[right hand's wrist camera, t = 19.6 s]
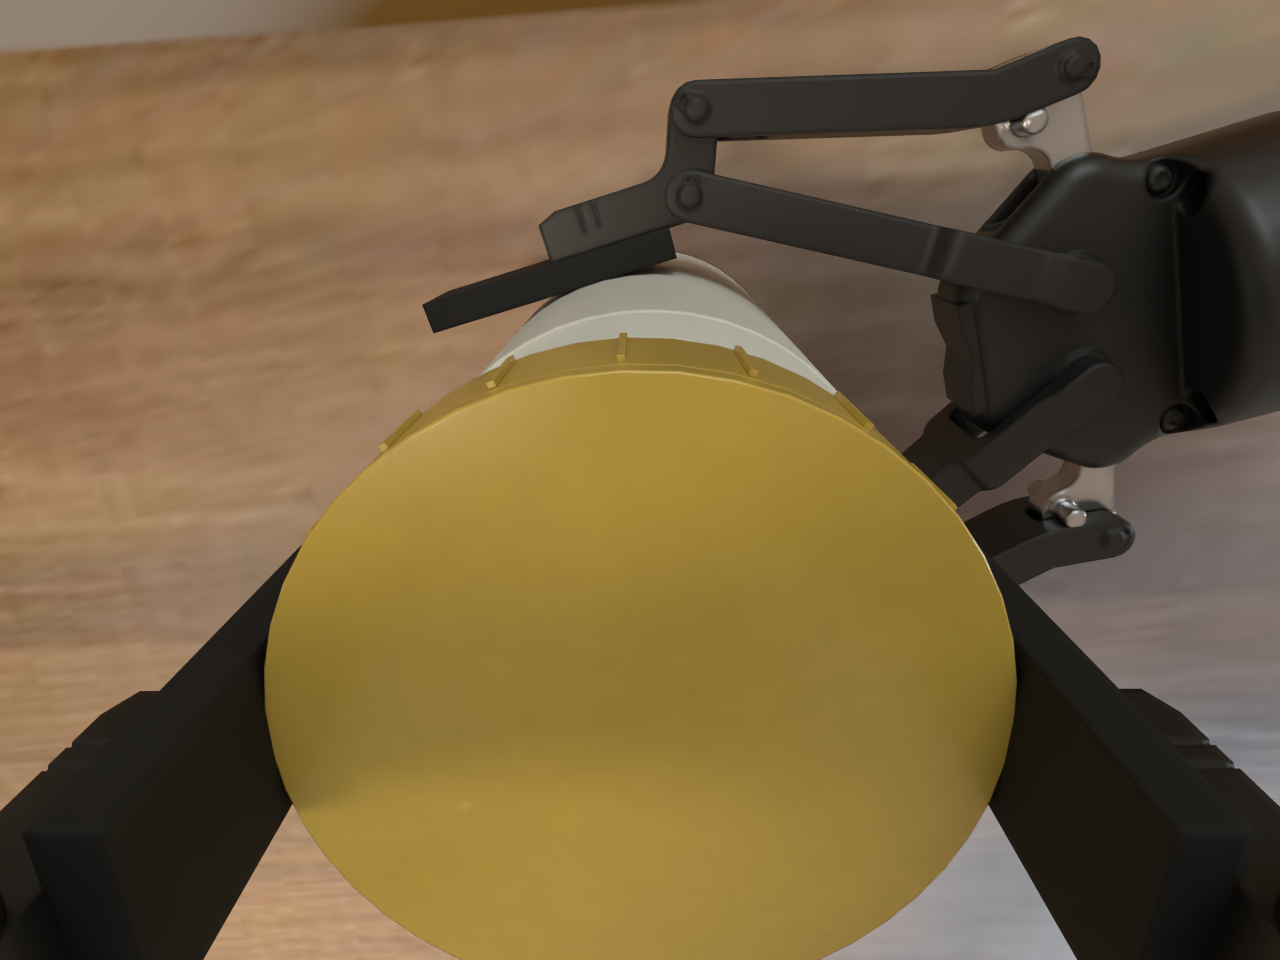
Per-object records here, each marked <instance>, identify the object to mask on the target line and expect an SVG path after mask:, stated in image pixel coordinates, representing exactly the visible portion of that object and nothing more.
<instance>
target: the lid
mask: <svg viewBox="0 0 1280 960" xmlns="http://www.w3.org/2000/svg"><path fill="white" fill-rule="evenodd" d="M874 426H875V425H874V424H873V423H872V422H871V421H870V420H869V419H868V418H867V417H865V416H864V415H863V414H862V413H861V412H860V411H859V410H858V409H857V408H856V407H855V406H854V405H853V404H852V403H851V402H850V401H849V400H848V399H847V398H846V397H845V396H844V395H843V394H841V393H840V392H838V391H837V392H836V393H835V394H834V395H832V394H831V393H829V392H828V391H826V390H824V389H823V388H821V387H819V386H818V385H816V384H815V383H813V382H811V381H810V380H808V379H807V378H805V377H803V376H801V375H798V374H796V373H794V372H792V371H790V370H787V369H785V368H783V367H781V366H778V365H776V364H774V363H772V362H769V361H767V360H765V359H762V358H759V357H756V356H752V355H749V354H747V353H746V352H745V350H744V349H743V347H741V346H738V345H735V347H734V350H732V349H728V348H725V347H721V346H718V345H711V344H705V343H698V342H692V341H685V340H679V339H672V338H628V337H627V333H620V335H619V338H614V339H605V340H596V341H587V342H578V343H573V344H569V345H565V346H561V347H557V348H553V349H549V350H545V351H541V352H537V353H533V354H530V355H527V356H525V357H522V358H520V359H517V360H516V358H515V356H514V355H512V356H509V357H507V358H506V360H505V361H504V362H503V363H502V364H501V366H500V367H497V368H495V369H492V370H490V371H488V372H486V373H484V374H482V375H480V376H479V377H477V378H475V379H473V380H472V381H470V382H468V383H466V384H465V385H463V386H461V387H459V388H457V389H456V390H454V391H452V392H450V393H449V394H448V395H446V396H445V397H444V398H442V399H441V400H440V401H438V402H437V403H436V404H435V405H433V406H432V407H431V408H429V409H428V410H427V411H425V412H424V413H423V414H422V413H421V411H420V410H417V411H416V412H415V413H413V414H412V415H411V416H410V417H409V418H408V419H407V420H406V421H405V422H404V423H403V424H402V425H401V426H400V427H399V428H398V429H397V430H395V431H394V432H393V433H392V434H391V435H390V436H389V437H388V438H387V439H386V440H385V441H384V442H383V443H382V444H381V445H380V446H379V447H378V448H379V449H380V450H381V451H382V452H381V453H380V454H379V455H378V456H377V457H376V458H375V459H374V460H373V461H372V462H371V463H370V464H369V465H368V466H367V467H366V468H365V469H364V470H363V471H362V472H361V473H360V474H359V475H358V476H357V477H356V478H355V479H354V480H353V482H352V483H351V484H350V485H349V486H348V487H347V488H346V489H345V490H344V491H343V492H342V493H341V494H340V495H339V496H338V497H337V498H336V499H335V500H334V501H333V502H332V503H331V504H330V506H329V507H328V509H327V510H326V511H325V513H324V514H323V516H322V517H321V518H320V519H319V520H318V521H317V522H316V523H315V524H314V525H313V526H312V527H311V528H310V529H309V531H308V533H307V535H306V536H308V537H307V538H306V540H305V541H304V542H303V544H302V546H301V548H300V550H299V552H298V554H297V556H296V558H295V560H294V562H293V564H292V566H291V568H290V570H289V573H288V575H287V577H286V579H285V581H284V583H283V585H282V588H281V592H280V595H279V598H278V601H277V605H276V608H275V611H274V614H273V618H272V621H271V624H270V629H269V637H268V644H267V651H266V658H265V665H264V687H265V711H266V716H267V721H268V726H269V731H270V736H271V741H272V746H273V751H274V756H275V760H276V763H277V766H278V769H279V772H280V775H281V778H282V781H283V784H284V786H285V789H286V791H287V793H288V795H289V797H290V799H291V801H292V803H293V805H294V807H295V809H296V811H297V813H298V815H299V817H300V819H301V821H302V822H303V824H304V826H305V827H306V829H307V830H308V832H309V833H310V835H311V836H312V837H313V839H314V840H315V842H316V843H317V845H318V846H319V847H320V849H321V850H322V852H323V853H324V855H325V856H326V858H327V859H328V860H329V861H330V862H331V863H332V864H333V865H334V866H335V867H336V869H337V870H338V871H339V872H340V873H341V874H342V875H343V876H344V877H345V879H346V880H347V881H348V882H349V883H350V884H351V885H352V886H353V887H354V888H355V889H356V890H357V891H358V892H359V893H361V894H362V895H363V896H364V897H365V898H366V899H367V900H369V901H370V902H371V903H372V904H373V905H374V906H376V907H377V908H378V909H379V910H380V911H381V912H382V913H384V914H385V915H386V916H388V917H389V918H391V919H392V920H394V921H395V922H396V923H398V924H399V925H401V926H402V927H404V928H405V929H407V930H408V931H410V932H411V933H412V934H414V935H415V936H417V937H418V938H420V939H422V940H424V941H426V942H428V943H430V944H431V945H433V946H435V947H437V948H439V949H441V950H443V951H444V952H446V953H448V954H450V955H452V956H454V957H456V958H458V959H461V960H820V959H822V958H824V957H826V956H828V955H830V954H832V953H834V952H836V951H838V950H840V949H842V948H844V947H846V946H848V945H850V944H852V943H854V942H855V941H857V940H858V939H860V938H862V937H863V936H865V935H866V934H868V933H869V932H871V931H873V930H874V929H876V928H877V927H879V926H880V925H882V924H883V923H885V922H887V921H888V920H889V919H890V918H892V917H893V916H894V915H895V914H896V913H898V912H899V911H900V910H901V909H903V908H904V907H905V906H906V905H908V904H909V903H910V902H911V901H913V900H914V899H915V898H916V897H918V896H919V895H920V894H921V893H922V892H923V890H924V889H925V888H926V887H927V886H928V885H929V884H930V883H931V882H932V881H933V880H934V879H935V878H936V877H937V876H938V875H939V874H940V873H941V872H942V871H943V870H944V869H945V868H946V867H947V866H948V864H949V863H950V862H951V860H952V859H953V858H954V856H955V855H956V854H957V852H958V851H959V850H960V848H961V847H962V846H963V844H964V843H965V842H966V840H967V839H968V838H969V837H970V835H971V833H972V832H973V830H974V828H975V826H976V825H977V823H978V821H979V819H980V818H981V816H982V814H983V812H984V811H985V809H986V807H987V805H988V803H989V802H990V800H991V797H992V795H993V792H994V790H995V787H996V784H997V782H998V779H999V777H1000V774H1001V772H1002V769H1003V767H1004V763H1005V759H1006V754H1007V749H1008V744H1009V740H1010V735H1011V730H1012V725H1013V720H1014V714H1015V704H1016V690H1017V676H1016V664H1015V653H1014V642H1013V636H1012V632H1011V628H1010V624H1009V620H1008V616H1007V612H1006V608H1005V604H1004V600H1003V597H1002V594H1001V592H1000V590H999V587H998V585H997V583H996V580H995V578H994V576H993V574H992V571H991V569H990V567H989V564H988V562H987V560H986V558H985V555H984V554H983V552H982V551H981V549H980V547H979V546H978V544H977V543H976V541H975V540H974V538H973V536H972V535H971V533H970V532H969V530H968V529H967V527H966V526H965V524H964V522H963V521H962V519H961V518H960V516H959V515H958V514H957V513H956V511H955V510H957V509H958V508H957V506H956V505H955V503H954V502H953V501H952V500H951V499H950V498H949V497H948V496H947V495H946V494H945V493H943V492H942V491H941V490H940V489H939V488H938V487H937V486H936V485H935V484H934V483H933V482H932V481H931V480H930V479H929V478H928V477H927V476H926V475H925V474H924V473H923V472H922V471H921V470H920V469H919V468H918V467H917V466H916V465H915V464H914V463H910V462H909V461H908V460H907V459H906V458H905V457H904V456H903V455H902V454H901V453H900V452H899V451H898V450H897V449H896V448H895V447H894V446H893V445H892V444H891V443H890V442H889V441H888V440H887V439H886V438H885V437H884V436H882V435H881V434H880V433H879V432H878V431H877V430H876V429H875V428H874Z"/></svg>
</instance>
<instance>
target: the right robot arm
mask: <svg viewBox="0 0 1280 960" xmlns="http://www.w3.org/2000/svg"><path fill="white" fill-rule="evenodd" d="M976 543H977V542H976ZM977 544H978V543H977ZM301 546H302V545H301ZM301 546H300V547H299V548H298V549H297V550H296V551H295V552H294V553H293V554H292V555H291V556H290V557H289V558H288V559H287V560H286V561H285V563H284V564H283V565H282V566H281V567H280V568H279V569H278V570H277V571H276V572H275V573H274V574H273V575H272V576H271V577H270V578H269V579H268V580H267V581H266V582H265V583H264V584H263V585H262V586H261V587H260V588H259V589H258V590H257V591H256V592H255V593H254V594H253V595H252V596H251V597H250V598H249V600H248V601H247V602H246V603H245V604H244V605H243V606H242V607H241V608H240V609H239V610H238V611H237V612H236V613H235V614H234V615H233V616H232V617H231V618H230V619H229V620H228V621H227V622H226V623H225V624H224V625H223V626H222V627H221V628H220V629H219V630H218V631H217V632H216V633H215V634H214V635H213V637H212V638H211V639H210V640H209V641H208V642H207V643H206V644H205V645H204V646H203V647H202V648H201V649H200V650H199V651H198V652H197V653H196V654H195V655H194V656H193V657H192V658H191V659H190V660H189V661H188V662H187V663H186V664H185V665H184V666H183V667H182V668H181V669H180V670H179V671H178V672H177V674H176V675H175V676H174V677H173V678H172V679H171V680H170V681H169V682H168V683H167V684H166V685H165V686H164V687H163V688H162V689H161V690H160V691H140V692H138V693H136V694H135V695H133V696H131V697H130V698H128V699H126V700H125V701H123V702H121V703H120V704H118V705H116V706H114V707H113V708H111V709H109V710H108V711H106V712H104V713H103V714H101V715H100V716H99V717H98V718H97V719H96V720H95V721H94V722H93V723H92V724H91V725H90V726H89V727H88V728H86V729H85V730H84V731H83V732H82V733H81V734H80V735H79V736H78V737H77V738H76V739H75V740H74V741H73V742H72V747H71V748H66V749H65V750H64V751H63V752H61V753H60V754H59V755H58V756H57V757H56V758H55V759H54V760H53V761H52V762H51V763H50V764H49V765H48V770H47V771H42V772H41V773H40V774H39V775H38V776H36V777H35V778H34V779H33V780H32V781H31V782H30V783H29V784H28V785H27V786H26V787H25V788H24V789H23V790H22V791H21V792H20V793H19V794H18V795H17V796H16V797H15V798H14V799H13V800H11V801H10V802H9V803H8V804H7V805H6V806H5V807H4V808H3V809H2V810H1V811H0V960H203V959H204V957H205V956H206V954H207V952H208V950H209V949H210V947H211V945H212V944H213V942H214V940H215V938H216V937H217V935H218V933H219V931H220V930H221V928H222V926H223V924H224V923H225V921H226V919H227V917H228V916H229V914H230V912H231V910H232V909H233V907H234V905H235V903H236V902H237V900H238V898H239V896H240V895H241V893H242V891H243V889H244V888H245V886H246V884H247V882H248V881H249V879H250V877H251V875H252V874H253V872H254V870H255V868H256V867H257V865H258V863H259V861H260V860H261V858H262V856H263V854H264V853H265V851H266V849H267V847H268V846H269V844H270V842H271V840H272V839H273V837H274V835H275V833H276V832H277V830H278V828H279V826H280V825H281V823H282V821H283V820H284V818H285V816H286V814H287V813H288V811H289V809H290V807H291V806H292V804H293V803H292V801H291V799H290V797H289V795H288V793H287V791H286V789H285V786H284V784H283V781H282V778H281V775H280V772H279V769H278V766H277V763H276V760H275V756H274V751H273V746H272V741H271V736H270V731H269V726H268V721H267V716H266V711H265V687H264V665H265V658H266V651H267V644H268V637H269V629H270V624H271V621H272V618H273V614H274V611H275V608H276V605H277V601H278V598H279V595H280V592H281V588H282V585H283V583H284V581H285V579H286V577H287V575H288V573H289V570H290V568H291V566H292V564H293V562H294V560H295V558H296V556H297V554H298V552H299V550H300V548H301ZM978 546H979V545H978ZM979 547H980V546H979ZM980 549H981V551H982V552H983V554H984V555H985V558H986V560H987V562H988V564H989V567H990V569H991V571H992V574H993V576H994V578H995V580H996V583H997V585H998V587H999V590H1000V592H1001V594H1002V597H1003V600H1004V604H1005V608H1006V612H1007V616H1008V620H1009V624H1010V628H1011V632H1012V636H1013V642H1014V653H1015V664H1016V676H1017V690H1016V704H1015V714H1014V720H1013V725H1012V730H1011V735H1010V740H1009V744H1008V749H1007V754H1006V759H1005V763H1004V767H1003V769H1002V772H1001V774H1000V777H999V779H998V782H997V784H996V787H995V790H994V792H993V795H992V797H991V800H990V802H989V803H988V805H989V806H990V808H991V810H992V812H993V813H994V815H995V817H996V819H997V820H998V822H999V824H1000V826H1001V827H1002V829H1003V831H1004V833H1005V834H1006V836H1007V838H1008V840H1009V841H1010V843H1011V845H1012V847H1013V848H1014V850H1015V852H1016V854H1017V855H1018V857H1019V859H1020V861H1021V862H1022V864H1023V866H1024V868H1025V869H1026V871H1027V873H1028V875H1029V876H1030V878H1031V880H1032V882H1033V883H1034V885H1035V887H1036V889H1037V890H1038V892H1039V894H1040V896H1041V897H1042V899H1043V901H1044V902H1045V904H1046V906H1047V908H1048V909H1049V911H1050V913H1051V915H1052V916H1053V918H1054V920H1055V922H1056V923H1057V925H1058V927H1059V929H1060V930H1061V932H1062V934H1063V936H1064V937H1065V939H1066V941H1067V943H1068V944H1069V946H1070V948H1071V950H1072V951H1073V953H1074V955H1075V957H1076V958H1077V960H1280V807H1279V806H1278V805H1277V804H1276V803H1275V802H1274V801H1273V800H1272V799H1271V798H1270V797H1269V796H1268V795H1267V794H1266V793H1265V792H1264V791H1263V790H1262V789H1261V788H1259V787H1258V786H1257V785H1256V784H1255V783H1254V782H1253V781H1252V780H1251V779H1250V778H1249V777H1248V776H1247V775H1246V774H1245V773H1244V772H1243V771H1242V770H1241V769H1235V768H1234V766H1233V762H1232V761H1231V760H1230V759H1229V758H1228V757H1227V756H1226V755H1225V754H1224V753H1223V752H1222V751H1221V750H1220V749H1219V748H1218V747H1216V746H1215V745H1210V743H1209V739H1208V738H1207V737H1206V736H1205V735H1204V734H1203V733H1202V732H1201V731H1200V730H1199V729H1198V728H1197V727H1196V726H1194V725H1193V724H1192V723H1191V722H1190V721H1189V720H1188V719H1187V718H1186V717H1185V716H1184V715H1183V714H1182V713H1181V712H1179V711H1178V710H1176V709H1174V708H1173V707H1171V706H1169V705H1168V704H1166V703H1164V702H1163V701H1161V700H1159V699H1158V698H1156V697H1154V696H1152V695H1151V694H1149V693H1147V692H1146V691H1144V690H1142V689H1119V688H1118V687H1117V686H1116V685H1115V684H1114V683H1113V682H1112V681H1111V680H1110V679H1109V678H1108V677H1107V676H1106V675H1105V674H1104V673H1103V672H1102V671H1101V670H1100V669H1099V668H1098V667H1097V666H1096V665H1095V664H1094V663H1093V662H1092V661H1091V660H1090V659H1089V658H1088V657H1087V656H1086V654H1085V653H1084V652H1083V651H1082V650H1081V649H1080V648H1079V647H1078V646H1077V645H1076V644H1075V643H1074V642H1073V641H1072V640H1071V639H1070V638H1069V637H1068V636H1067V635H1066V634H1065V633H1064V632H1063V631H1062V630H1061V629H1060V628H1059V627H1058V626H1057V625H1056V624H1055V623H1054V622H1053V621H1052V620H1051V619H1050V617H1049V616H1048V615H1047V614H1046V613H1045V612H1044V611H1043V610H1042V609H1041V608H1040V607H1039V606H1038V605H1037V604H1036V603H1035V602H1034V601H1033V600H1032V599H1031V598H1030V597H1029V596H1028V595H1027V594H1026V593H1025V592H1024V591H1023V590H1022V589H1021V588H1020V587H1019V586H1018V585H1017V584H1016V583H1015V582H1014V580H1013V579H1012V578H1011V577H1010V576H1009V575H1008V574H1007V573H1006V572H1005V571H1004V570H1003V569H1002V568H1001V567H1000V566H999V565H998V564H997V563H996V562H995V561H994V560H993V559H992V558H991V557H990V556H989V555H988V554H987V553H986V552H985V551H984V550H983V549H982V548H981V547H980Z"/></svg>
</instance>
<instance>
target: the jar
mask: <svg viewBox="0 0 1280 960" xmlns="http://www.w3.org/2000/svg"><path fill="white" fill-rule="evenodd" d="M676 256H677V258H676V259H673V260H670V261H666V262H663V263H660V264H657V265H653V266H650V267H647V268H644V269H640V270H637V271H634V272H631V273H628V274H624V275H621V276H618V277H615V278H611V279H608V280H605V281H602V282H598V283H595V284H592V285H589V286H585V287H582V288H579V289H576V290H572V291H569V292H566V293H563V294H559V295H556V296H553V297H550V298H547V299H546V300H545V302H544V303H543V304H542V305H541V306H540V307H539V308H538V310H537V311H536V312H535V313H534V314H533V315H532V316H531V317H530V319H529V320H528V321H527V322H526V323H525V324H524V325H523V326H522V328H521V329H520V330H519V331H518V332H517V333H516V334H515V335H514V337H513V338H512V339H511V340H510V341H509V342H508V343H507V344H506V346H505V347H504V348H503V349H502V350H501V351H500V352H499V353H498V355H497V356H496V357H495V358H494V359H493V360H492V361H491V363H490V364H489V365H488V366H487V367H486V368H485V369H484V370H483V372H482V373H481V374H480V375H482V374H484V373H486V372H488V371H490V370H492V369H495V368H497V367H500V366H501V364H502V363H503V362H504V361H505V360H506V358H507V357H509V356H512V355H514V356H515V358H516V360H517V359H520V358H522V357H525V356H527V355H530V354H533V353H537V352H541V351H545V350H549V349H553V348H557V347H561V346H565V345H569V344H573V343H578V342H587V341H596V340H605V339H614V338H619V335H620V333H627V337H628V338H672V339H679V340H685V341H692V342H698V343H705V344H711V345H718V346H721V347H725V348H728V349H732V350H734V347H735V345H738V346H741V347H743V349H744V350H745V352H746V353H747V354H749V355H752V356H756V357H759V358H762V359H765V360H767V361H769V362H772V363H774V364H776V365H778V366H781V367H783V368H785V369H787V370H790V371H792V372H794V373H796V374H798V375H801V376H803V377H805V378H807V379H808V380H810V381H811V382H813V383H815V384H816V385H818V386H819V387H821V388H823V389H824V390H826V391H828V392H829V393H831V394H832V395H834V394H835V393H836V392H837V391H836V390H835V388H834V387H833V386H832V385H831V384H830V383H829V382H828V381H827V380H826V379H825V377H824V376H823V375H822V374H821V373H820V372H819V371H818V370H817V369H816V368H815V367H814V365H813V364H812V363H811V362H810V361H809V360H808V359H807V358H806V357H805V356H804V355H803V354H802V352H801V351H800V350H799V349H798V348H797V347H796V346H795V345H794V344H793V343H792V342H791V340H790V339H789V338H788V337H787V336H786V335H785V334H784V333H783V332H782V331H781V330H780V328H779V327H778V326H777V325H776V324H775V323H774V322H773V321H772V320H771V319H770V318H769V317H768V315H767V314H766V313H765V312H764V311H763V310H762V309H761V308H760V307H759V306H758V305H757V303H756V302H755V301H754V300H753V299H752V298H751V297H750V296H749V295H748V294H747V293H746V292H745V291H744V290H743V289H742V288H741V287H740V286H739V285H738V284H737V283H736V282H735V281H734V280H733V279H732V278H730V277H729V276H727V275H726V274H725V273H723V272H722V271H721V270H719V269H717V268H715V267H714V266H712V265H710V264H708V263H706V262H704V261H702V260H699V259H697V258H694V257H691V256H689V255H685V254H681V253H676ZM480 375H479V376H480ZM479 376H478V377H479Z"/></svg>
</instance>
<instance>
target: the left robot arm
mask: <svg viewBox="0 0 1280 960" xmlns="http://www.w3.org/2000/svg"><path fill="white" fill-rule="evenodd" d="M1100 57H1101V55H1100V53H1099V50H1098V48H1097V45H1095V44H1094V43H1093V42H1092V41H1091V40H1090V39H1088V38H1084V37H1075V38H1070V39H1067V40H1064V41H1061V42H1058V43H1055V44H1052V45H1050V46H1047V47H1044V48H1041V49H1038V50H1035V51H1032V52H1030V53H1027V54H1024V55H1021V56H1018V57H1016V58H1014V59H1011V60H1009V61H1007V62H1004V63H1002V64H999V65H997V66H995V67H992V68H990V69H988V70H970V71H941V72H912V73H883V74H854V75H825V76H796V77H768V78H739V79H710V80H694V81H690V82H686V83H685V84H683V85H682V86H681V87H679V88H678V89H677V91H676V92H675V94H674V96H673V98H672V100H671V103H670V107H669V112H668V122H667V138H666V153H665V159H664V163H663V165H662V167H661V169H660V171H659V172H658V173H657V175H655V176H654V177H653V178H652V179H651V180H649V181H646V182H644V183H642V184H638V185H635V186H632V187H629V188H626V189H623V190H620V191H617V192H614V193H610V194H607V195H604V196H601V197H598V198H595V199H592V200H589V201H586V202H582V203H579V204H576V205H573V206H570V207H567V208H564V209H561V210H558V211H555V212H553V213H552V214H551V215H550V216H549V217H548V218H547V219H545V220H544V221H543V222H542V223H541V224H540V225H539V229H540V232H541V235H542V238H543V241H544V244H545V247H546V250H547V253H548V256H549V260H546V261H543V262H540V263H536V264H533V265H530V266H527V267H524V268H521V269H517V270H514V271H511V272H508V273H505V274H501V275H498V276H495V277H492V278H489V279H486V280H482V281H479V282H476V283H473V284H470V285H466V286H463V287H460V288H457V289H454V290H450V291H448V292H446V293H444V294H442V295H440V296H438V297H436V298H434V299H433V300H431V301H429V302H427V303H425V304H423V308H424V310H425V313H426V316H427V318H428V321H429V323H430V326H431V328H432V331H433V333H436V332H439V331H443V330H446V329H449V328H452V327H456V326H459V325H462V324H465V323H469V322H472V321H475V320H478V319H482V318H485V317H488V316H491V315H495V314H498V313H501V312H504V311H508V310H511V309H514V308H517V307H520V306H524V305H527V304H530V303H533V302H537V301H540V300H543V299H546V298H550V297H553V296H556V295H559V294H563V293H566V292H569V291H572V290H576V289H579V288H582V287H585V286H589V285H592V284H595V283H598V282H602V281H605V280H608V279H611V278H615V277H618V276H621V275H624V274H628V273H631V272H634V271H637V270H640V269H644V268H647V267H650V266H653V265H657V264H660V263H663V262H666V261H670V260H673V259H676V258H677V256H676V252H675V249H674V245H673V241H672V237H671V234H670V230H669V228H671V227H674V226H677V225H680V224H683V223H687V222H688V223H692V224H696V225H701V226H705V227H710V228H714V229H719V230H723V231H727V232H732V233H736V234H741V235H745V236H750V237H754V238H758V239H763V240H767V241H772V242H776V243H781V244H785V245H790V246H794V247H798V248H803V249H807V250H812V251H816V252H821V253H825V254H829V255H834V256H838V257H843V258H847V259H852V260H856V261H860V262H865V263H869V264H874V265H878V266H883V267H887V268H891V269H896V270H900V271H905V272H909V273H914V274H918V275H922V276H926V277H930V278H934V279H938V280H941V281H940V284H939V288H938V293H937V294H933V295H931V301H932V307H933V313H934V319H935V323H936V325H937V327H938V329H939V331H940V333H941V335H942V337H943V339H944V342H945V344H946V353H945V362H944V371H943V375H944V381H945V388H946V394H947V398H948V399H950V400H951V401H952V402H950V403H949V404H948V405H947V406H946V407H945V408H943V409H942V410H941V411H940V412H939V413H938V414H936V415H935V416H934V417H933V418H932V419H931V420H930V421H929V422H928V423H927V425H926V426H925V430H924V433H923V435H922V436H921V437H920V438H919V439H918V440H917V441H916V442H915V443H914V444H912V445H911V446H910V447H909V448H908V449H906V450H905V451H904V452H903V453H902V455H903V456H904V457H905V458H906V459H907V460H908V461H909V462H910V463H914V464H915V465H916V466H917V467H918V468H919V469H920V470H921V471H922V472H923V473H924V474H925V475H926V476H927V477H928V478H929V479H930V480H931V481H932V482H933V483H934V484H935V485H936V486H937V487H938V488H939V489H940V490H941V491H942V492H943V493H945V494H946V495H947V496H948V497H949V498H950V499H951V500H952V501H953V502H954V503H955V505H956V506H957V508H958V507H959V506H961V505H962V504H963V503H964V502H966V501H967V500H968V499H969V498H971V497H972V496H973V495H974V494H976V493H978V492H980V491H984V490H993V489H995V488H998V487H999V486H1001V485H1003V484H1004V483H1005V482H1007V481H1008V480H1009V479H1010V478H1012V477H1013V476H1014V475H1015V474H1017V473H1018V472H1019V471H1020V470H1022V469H1023V468H1024V467H1025V466H1027V465H1028V464H1029V463H1030V462H1032V461H1033V460H1034V459H1035V458H1037V457H1038V456H1039V455H1040V454H1042V453H1045V454H1048V455H1051V456H1053V457H1056V458H1059V459H1062V460H1064V464H1063V466H1062V468H1061V470H1060V471H1059V472H1058V473H1057V474H1056V475H1055V476H1053V477H1052V478H1050V479H1048V480H1045V481H1041V480H1038V481H1034V482H1033V483H1031V485H1030V486H1029V488H1028V493H1029V496H1027V497H1023V498H1018V499H1015V500H1012V501H1009V502H1006V503H1003V504H1000V505H998V506H996V507H994V508H991V509H989V510H987V511H985V512H983V513H981V514H979V515H977V516H975V517H973V518H971V519H969V520H967V521H965V522H964V524H965V526H966V527H967V529H968V530H969V532H970V533H971V535H972V536H973V538H974V540H975V541H976V542H977V543H978V545H979V546H980V547H981V548H982V549H983V550H984V551H985V552H986V553H987V554H988V555H989V556H990V557H991V558H992V559H993V560H994V561H995V562H996V563H997V564H998V565H999V566H1000V567H1001V568H1002V569H1003V570H1004V571H1005V572H1006V573H1007V574H1008V575H1009V576H1010V577H1011V578H1012V579H1013V580H1014V582H1015V583H1016V584H1017V585H1019V584H1021V583H1023V582H1025V581H1027V580H1030V579H1032V578H1034V577H1036V576H1038V575H1040V574H1042V573H1044V572H1046V571H1048V570H1050V569H1052V568H1055V567H1061V566H1066V565H1072V564H1078V563H1084V562H1090V561H1095V560H1101V559H1107V558H1113V557H1116V556H1119V555H1122V554H1123V553H1124V552H1126V551H1127V550H1128V549H1129V548H1130V547H1131V545H1132V544H1133V542H1134V538H1135V531H1134V528H1133V527H1132V525H1131V524H1130V523H1129V522H1127V521H1126V520H1124V519H1123V518H1122V517H1120V516H1119V515H1117V514H1116V513H1115V482H1116V464H1117V463H1120V462H1122V461H1123V460H1125V459H1127V458H1128V457H1129V456H1130V455H1132V454H1133V453H1134V452H1135V451H1137V450H1138V449H1139V448H1141V447H1142V446H1144V445H1145V444H1147V443H1148V442H1150V441H1152V440H1154V439H1156V438H1158V437H1160V436H1163V435H1167V434H1172V433H1178V432H1185V431H1193V430H1200V429H1207V428H1212V427H1217V426H1222V425H1226V424H1230V423H1234V422H1237V421H1241V420H1245V419H1249V418H1253V417H1257V416H1260V415H1264V414H1268V413H1272V412H1276V411H1279V410H1280V111H1276V112H1271V113H1267V114H1264V115H1261V116H1258V117H1254V118H1251V119H1248V120H1244V121H1241V122H1238V123H1235V124H1231V125H1228V126H1225V127H1221V128H1218V129H1215V130H1212V131H1208V132H1205V133H1202V134H1198V135H1195V136H1192V137H1188V138H1185V139H1182V140H1179V141H1175V142H1172V143H1169V144H1165V145H1162V146H1159V147H1156V148H1152V149H1149V150H1146V151H1142V152H1139V153H1136V154H1133V155H1129V156H1126V157H1121V158H1118V157H1113V156H1109V155H1105V154H1102V153H1095V152H1092V151H1091V145H1090V139H1089V133H1088V127H1087V122H1086V116H1085V110H1084V104H1083V98H1082V91H1084V90H1085V89H1087V88H1088V87H1089V86H1090V85H1091V84H1092V82H1093V81H1094V80H1095V79H1096V77H1097V74H1098V71H1099V69H1100ZM979 127H981V131H982V135H983V138H984V141H985V142H986V144H987V145H988V146H989V147H990V148H992V149H994V150H997V151H1009V150H1019V151H1022V152H1024V153H1026V154H1027V155H1028V156H1029V157H1030V158H1031V160H1032V162H1033V165H1034V169H1032V170H1031V171H1030V172H1029V173H1028V174H1027V175H1026V177H1025V178H1024V179H1023V180H1022V181H1021V182H1020V183H1019V185H1018V186H1017V187H1016V188H1015V189H1014V190H1013V191H1012V193H1011V194H1010V195H1009V196H1008V197H1007V198H1006V199H1005V200H1004V202H1003V203H1002V204H1001V205H1000V206H999V207H998V208H997V210H996V211H995V212H994V213H993V214H992V215H991V216H990V218H989V219H988V220H987V221H986V222H985V223H984V224H983V225H982V227H981V228H980V229H979V230H978V231H977V232H976V233H975V234H974V233H969V232H965V231H960V230H956V229H951V228H946V227H941V226H936V225H932V224H927V223H923V222H919V221H914V220H910V219H906V218H901V217H897V216H893V215H888V214H884V213H880V212H875V211H871V210H867V209H862V208H858V207H854V206H849V205H845V204H841V203H836V202H832V201H828V200H823V199H819V198H815V197H810V196H806V195H802V194H797V193H793V192H789V191H784V190H780V189H775V188H771V187H767V186H762V185H758V184H754V183H749V182H745V181H741V180H736V179H732V178H728V177H723V176H719V175H715V174H714V170H715V159H716V147H717V142H718V141H749V140H779V139H809V138H839V137H869V136H900V135H930V134H941V133H951V132H956V131H962V130H968V129H973V128H979ZM984 431H986V432H988V433H987V434H986V435H984V436H983V437H980V438H977V437H978V436H979V435H980V434H981V433H982V432H984Z"/></svg>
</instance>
